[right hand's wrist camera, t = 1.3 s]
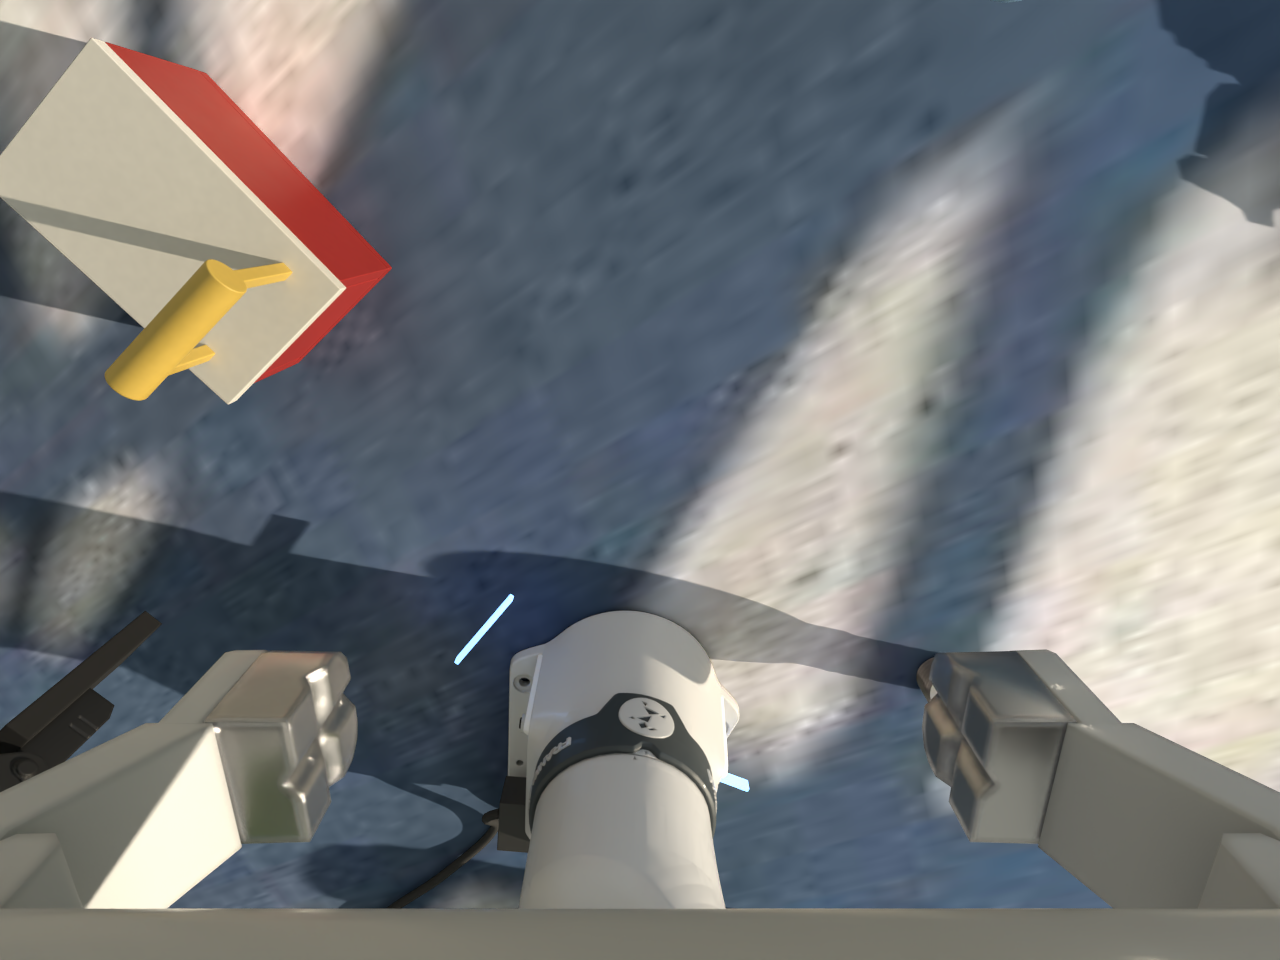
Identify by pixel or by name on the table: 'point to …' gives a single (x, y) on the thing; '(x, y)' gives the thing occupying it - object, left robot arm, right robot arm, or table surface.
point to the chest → (267, 187)
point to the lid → (161, 231)
